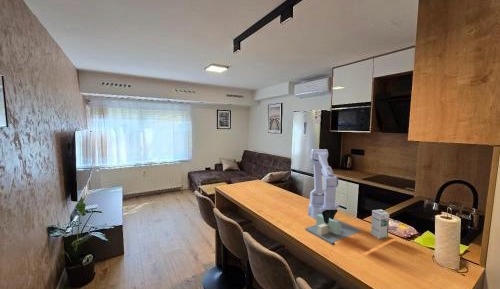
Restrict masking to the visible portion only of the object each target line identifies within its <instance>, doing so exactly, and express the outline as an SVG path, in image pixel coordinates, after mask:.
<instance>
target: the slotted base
mask: <svg viewBox="0 0 500 289" xmlns="http://www.w3.org/2000/svg"><path fill="white" fill-rule="evenodd" d="M333 220H335V221H337V222H340V223H342V225H341V234H338V235H337V234H335V233H333V232H331V231H329V226H328V225H326V224H321V225H317V224H314V225H310V226H307V227H305V228H304V229H305V231H307V232H308V233H310V234H311V235H313V236H316V237H317V238H320V239H321V240H322V241H324V242H326V243H328V244H330V245H335V244H336V242H337V241H340V240H342V239H343V240H344V239H345V238H348V237H350V236H353V235H355V234H357V233H361V232H362V231H363V230H362V229H361V228H359V227H355V226H353V225H351V224H350V223H349V224H348V223H346V222H344V221H342V220H339V219H338V218H334V219H333Z"/></svg>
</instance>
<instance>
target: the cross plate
mask: <svg viewBox="0 0 500 289" xmlns="http://www.w3.org/2000/svg"><path fill="white" fill-rule="evenodd" d="M315 221H316V223H315V225H321V224H326V225H328V226H329V231H331V232H333V233H335V234H337V235H338V234H341V225H342V223H340V222H337V221H335V220H333V219H331V218H329V222H328V224H327V223H324V218H323V215H322V214H319V215H317V219H315Z"/></svg>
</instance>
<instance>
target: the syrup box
mask: <svg viewBox="0 0 500 289" xmlns="http://www.w3.org/2000/svg"><path fill="white" fill-rule="evenodd" d="M389 221H390V213H389V212H388V211H387V210H383V209H373V210H371V223H370V224H371V227H370V235H371V236H373V237H375V238H376V239H378V240H383V239H388V237H389V223H390V222H389Z"/></svg>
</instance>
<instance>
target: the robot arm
mask: <svg viewBox="0 0 500 289" xmlns="http://www.w3.org/2000/svg"><path fill="white" fill-rule="evenodd" d="M309 153H310V154H309V155H310V156H309V157H310V162H311V163H312V166H313V185H314V186H313V187H314V189H312V190H311V191H310V193H309V204H308V206H307V216H309V217H311V218H312V219H314V220H317V215H319V214H322V215H323V218H324V223H327V224H328V222H329V218H331V219H335V216H336V215H337V213H338V209H339V208H340V204H339V203H336V194H337V188H338V186H339V177H338V176H337V175H336V174H335V173H334V171H333V169H332V166H330V165H329V162H328V158H329V151H328V149H326V148H324V149H321V148H319V149H318V148H311V149H310V152H309Z"/></svg>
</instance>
